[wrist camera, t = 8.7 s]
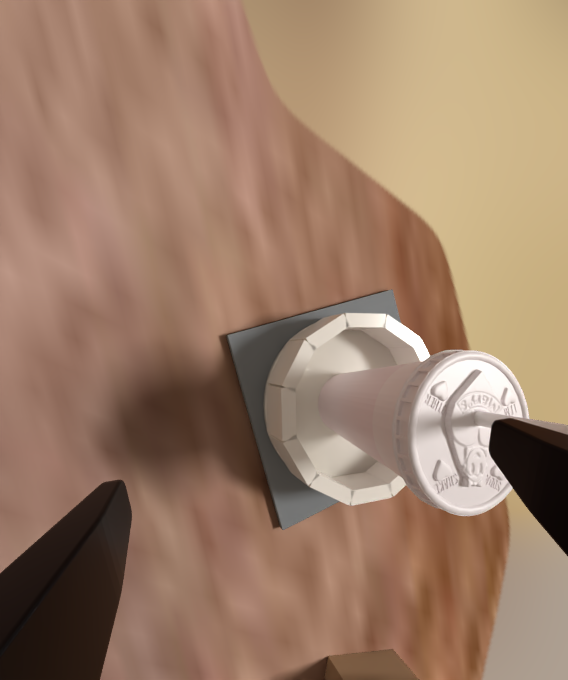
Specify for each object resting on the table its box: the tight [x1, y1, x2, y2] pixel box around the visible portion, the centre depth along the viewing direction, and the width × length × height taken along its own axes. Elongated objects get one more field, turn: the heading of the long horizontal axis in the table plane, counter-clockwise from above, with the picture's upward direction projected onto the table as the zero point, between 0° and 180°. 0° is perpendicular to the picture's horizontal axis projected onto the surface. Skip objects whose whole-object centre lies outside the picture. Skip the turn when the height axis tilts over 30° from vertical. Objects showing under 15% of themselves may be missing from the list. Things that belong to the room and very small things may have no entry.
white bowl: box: [263, 313, 430, 506], centre depth 22 cm, size 11×11×3 cm
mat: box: [226, 290, 401, 530], centre depth 24 cm, size 12×12×1 cm
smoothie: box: [318, 350, 568, 516], centre depth 17 cm, size 6×6×14 cm
